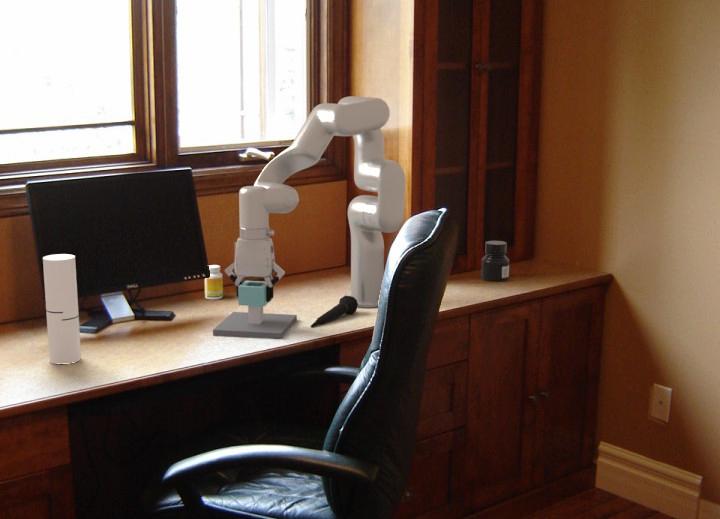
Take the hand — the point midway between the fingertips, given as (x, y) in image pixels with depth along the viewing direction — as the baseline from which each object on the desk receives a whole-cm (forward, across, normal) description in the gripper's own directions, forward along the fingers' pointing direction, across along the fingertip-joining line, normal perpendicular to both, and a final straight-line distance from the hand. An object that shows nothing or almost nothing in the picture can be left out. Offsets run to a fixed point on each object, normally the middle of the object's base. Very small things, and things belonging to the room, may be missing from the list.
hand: (255, 299), depth 255 cm
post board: (+8, 0, 0) cm, 8 cm away
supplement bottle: (+8, +21, -29) cm, 37 cm away
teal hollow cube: (+1, 0, 0) cm, 1 cm away
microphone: (+8, -18, -12) cm, 24 cm away
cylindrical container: (+8, +37, +35) cm, 51 cm away
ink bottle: (+7, -61, -69) cm, 93 cm away
